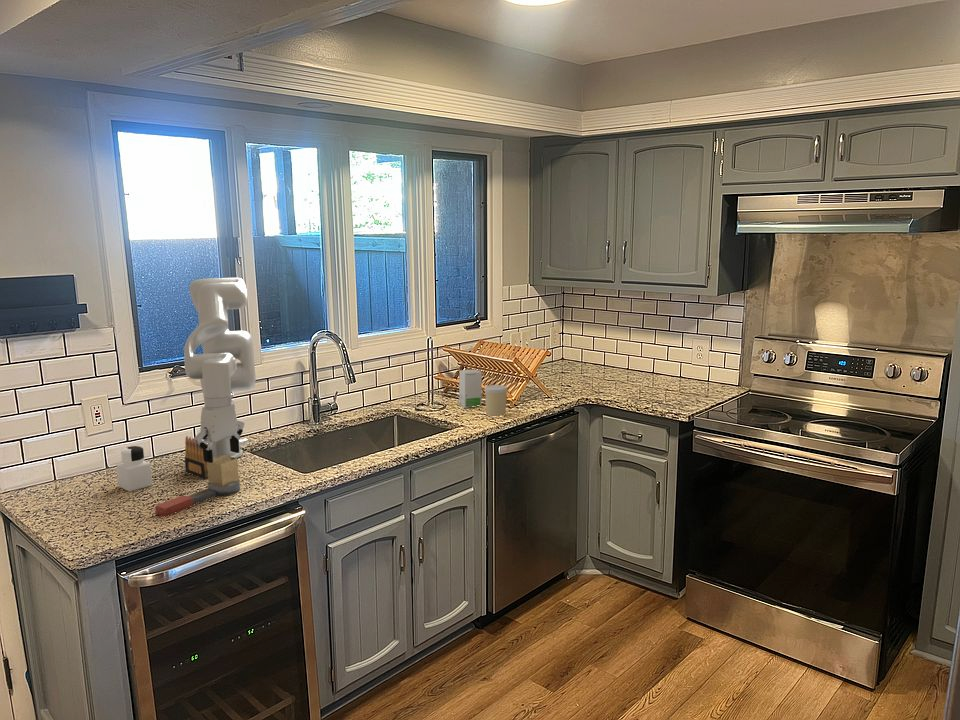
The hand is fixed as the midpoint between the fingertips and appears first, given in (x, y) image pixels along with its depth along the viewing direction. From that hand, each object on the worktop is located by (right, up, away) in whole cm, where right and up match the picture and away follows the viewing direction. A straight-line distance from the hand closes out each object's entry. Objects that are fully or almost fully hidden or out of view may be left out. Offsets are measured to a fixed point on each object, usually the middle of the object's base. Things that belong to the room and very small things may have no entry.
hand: (221, 456), depth 214 cm
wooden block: (0, -8, +1) cm, 8 cm away
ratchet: (-4, -12, -6) cm, 14 cm away
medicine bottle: (-28, -10, +5) cm, 30 cm away
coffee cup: (+83, +6, +84) cm, 118 cm away
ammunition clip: (-13, -8, +14) cm, 21 cm away
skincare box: (+72, +8, +99) cm, 123 cm away
